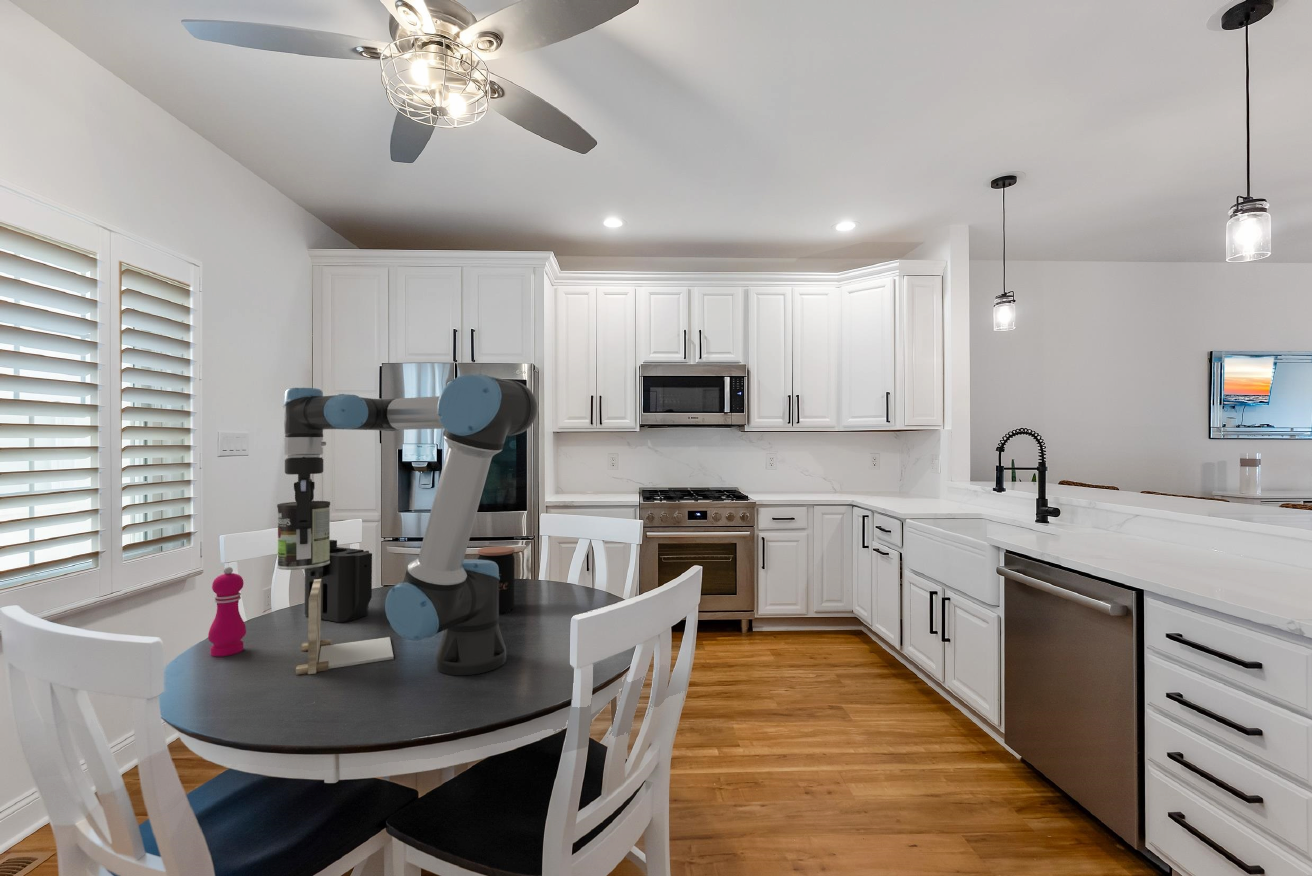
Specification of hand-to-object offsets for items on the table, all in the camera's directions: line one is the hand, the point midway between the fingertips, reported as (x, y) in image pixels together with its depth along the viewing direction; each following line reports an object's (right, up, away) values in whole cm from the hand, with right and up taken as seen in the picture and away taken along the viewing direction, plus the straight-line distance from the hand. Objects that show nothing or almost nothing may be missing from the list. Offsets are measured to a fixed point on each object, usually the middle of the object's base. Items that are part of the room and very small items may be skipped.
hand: (304, 555), depth 132 cm
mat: (+9, -24, +5) cm, 26 cm away
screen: (+1, -24, +2) cm, 24 cm away
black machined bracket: (-12, -25, +34) cm, 43 cm away
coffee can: (0, -3, 0) cm, 3 cm away
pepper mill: (-22, -24, +6) cm, 33 cm away
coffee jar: (+32, -25, +42) cm, 58 cm away
